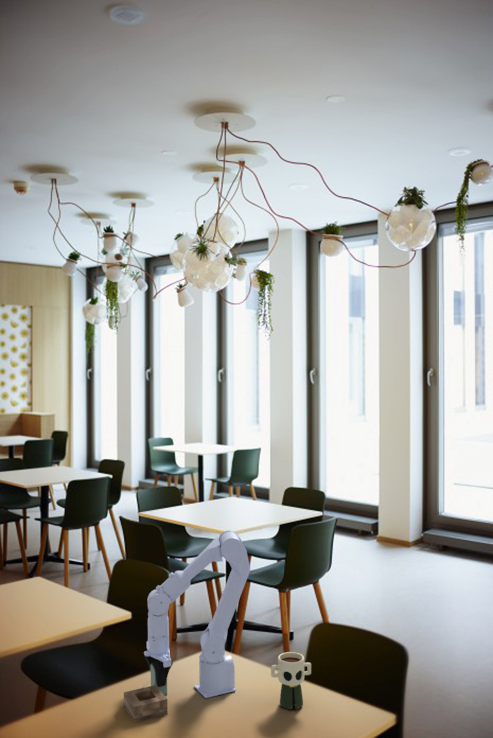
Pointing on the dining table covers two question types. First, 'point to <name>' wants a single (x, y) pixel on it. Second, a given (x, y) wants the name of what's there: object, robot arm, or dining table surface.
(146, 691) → the hole block
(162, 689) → the square peg
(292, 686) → the character mug
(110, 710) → the dining table surface
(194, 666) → the dining table surface
